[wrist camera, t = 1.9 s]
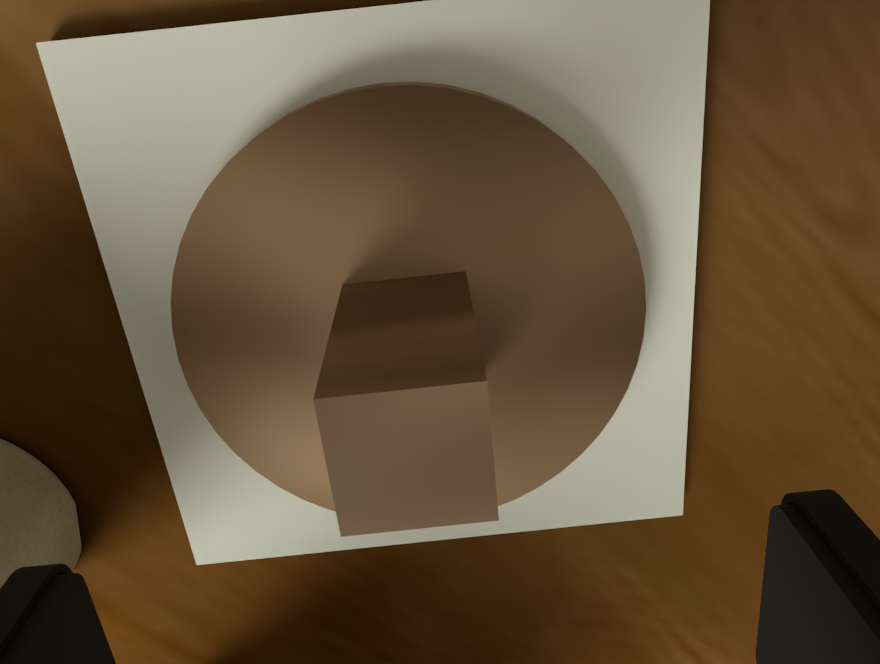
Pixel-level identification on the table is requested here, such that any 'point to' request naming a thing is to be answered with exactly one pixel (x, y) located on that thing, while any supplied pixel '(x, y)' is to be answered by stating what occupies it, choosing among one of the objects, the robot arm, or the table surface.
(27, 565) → the flower pot
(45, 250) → the table surface
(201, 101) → the mat
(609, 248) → the lid
